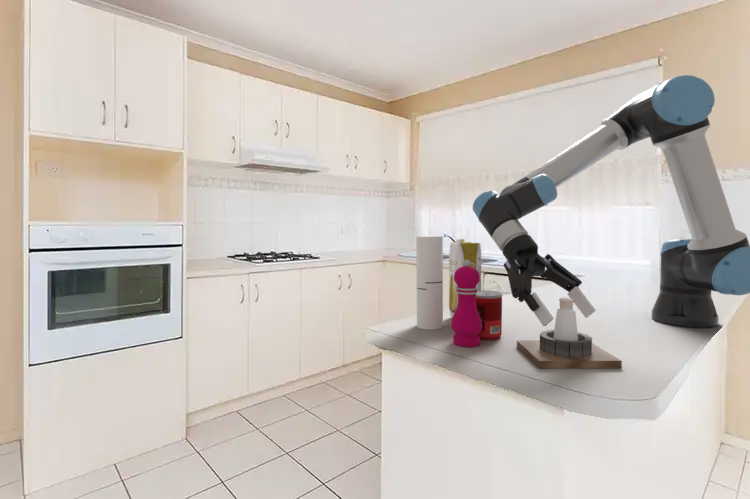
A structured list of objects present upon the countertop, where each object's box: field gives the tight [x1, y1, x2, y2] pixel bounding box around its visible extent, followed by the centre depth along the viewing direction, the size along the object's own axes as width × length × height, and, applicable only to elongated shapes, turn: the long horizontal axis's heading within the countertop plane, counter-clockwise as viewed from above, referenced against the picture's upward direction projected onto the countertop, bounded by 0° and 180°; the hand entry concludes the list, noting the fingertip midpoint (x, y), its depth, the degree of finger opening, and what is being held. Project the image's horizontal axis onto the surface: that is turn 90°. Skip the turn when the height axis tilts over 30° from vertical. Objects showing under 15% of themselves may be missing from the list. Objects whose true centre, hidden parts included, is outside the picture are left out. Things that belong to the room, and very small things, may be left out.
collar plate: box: [516, 329, 623, 369], centre depth 89 cm, size 16×14×4 cm
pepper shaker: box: [553, 297, 578, 341], centre depth 89 cm, size 5×5×11 cm
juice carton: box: [448, 237, 482, 318], centre depth 122 cm, size 9×8×24 cm
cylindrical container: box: [416, 234, 444, 331], centre depth 115 cm, size 7×7×25 cm
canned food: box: [475, 290, 503, 341], centre depth 105 cm, size 8×8×11 cm
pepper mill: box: [450, 260, 482, 348], centre depth 99 cm, size 7×7×20 cm
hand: (570, 318), depth 88 cm, fingers open, 13 cm apart
